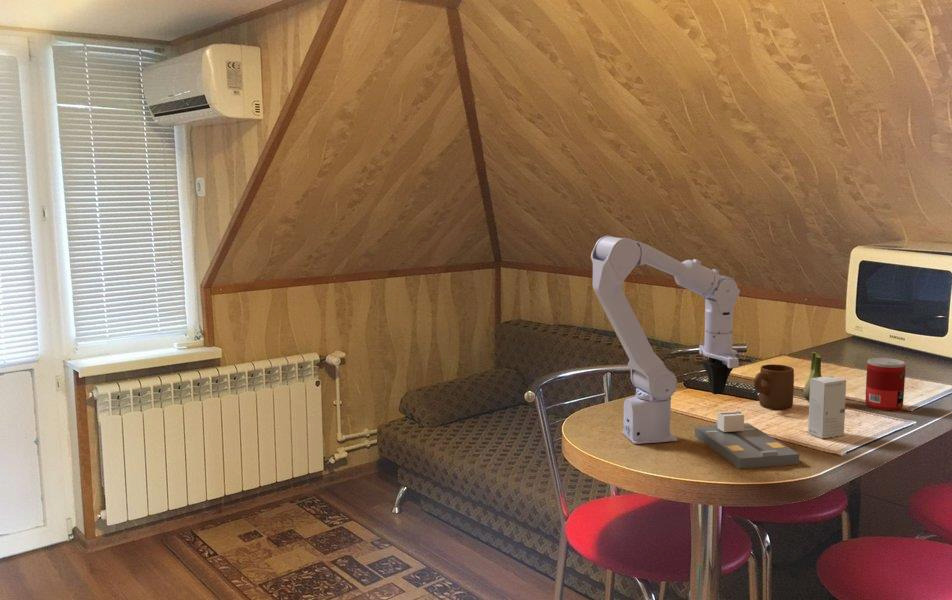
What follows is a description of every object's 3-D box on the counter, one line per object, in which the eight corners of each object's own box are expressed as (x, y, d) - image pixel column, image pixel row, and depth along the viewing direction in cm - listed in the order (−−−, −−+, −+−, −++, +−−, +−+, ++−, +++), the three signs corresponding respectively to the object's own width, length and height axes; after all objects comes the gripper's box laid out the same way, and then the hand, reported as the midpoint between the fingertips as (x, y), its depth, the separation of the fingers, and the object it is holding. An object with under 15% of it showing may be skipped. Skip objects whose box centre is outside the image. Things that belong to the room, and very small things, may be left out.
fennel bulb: (820, 405, 188) (822, 356, 186) (799, 402, 191) (801, 353, 189) (827, 400, 193) (829, 351, 191) (806, 396, 196) (808, 349, 194)
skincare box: (822, 439, 163) (825, 382, 162) (806, 433, 168) (808, 378, 166) (845, 435, 166) (848, 379, 164) (828, 429, 170) (831, 375, 168)
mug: (768, 416, 181) (769, 375, 179) (740, 408, 187) (741, 369, 185) (799, 406, 187) (801, 368, 186) (771, 400, 194) (772, 362, 192)
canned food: (905, 412, 181) (908, 365, 180) (867, 409, 184) (869, 363, 182) (899, 403, 188) (902, 358, 187) (862, 401, 191) (865, 356, 189)
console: (739, 468, 148) (740, 454, 148) (694, 435, 168) (695, 423, 167) (799, 464, 150) (799, 450, 149) (747, 432, 169) (748, 419, 169)
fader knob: (723, 432, 162) (724, 415, 162) (717, 427, 165) (717, 411, 165) (743, 430, 163) (744, 414, 163) (736, 426, 166) (737, 410, 166)
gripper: (753, 336, 161) (751, 401, 163) (720, 324, 175) (719, 383, 177) (720, 338, 160) (719, 403, 162) (690, 326, 174) (689, 385, 176)
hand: (717, 393), depth 170 cm, fingers closed
